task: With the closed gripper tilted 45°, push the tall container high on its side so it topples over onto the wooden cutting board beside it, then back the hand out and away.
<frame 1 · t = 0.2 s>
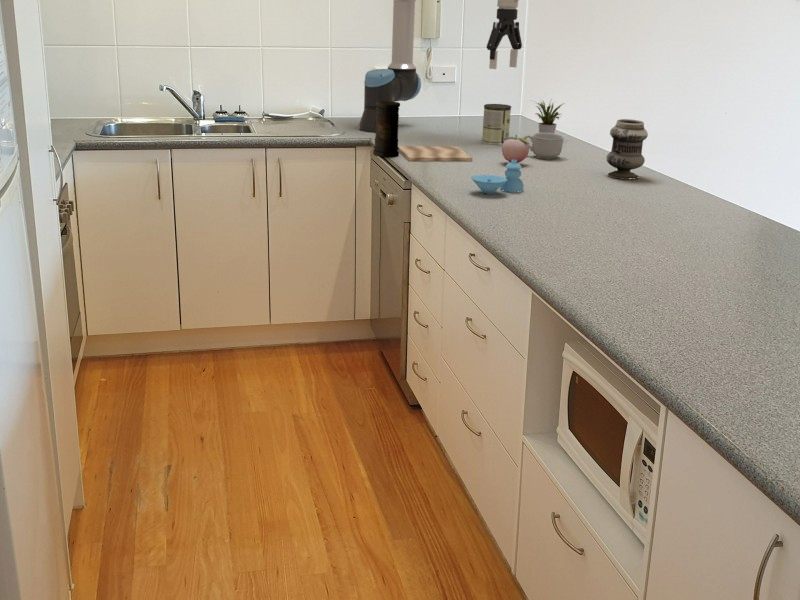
hand: (502, 68, 338), 28 cm above the worktop, tool pointing down, fingers open, 13 cm apart
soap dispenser: (497, 193, 266), on the worktop
teacup: (541, 157, 323), on the worktop
house plant: (542, 140, 360), on the worktop
wooden cutting board: (433, 155, 318), on the worktop
apothecary jar: (623, 177, 295), on the worktop
decorative fruit: (513, 165, 308), on the worktop
coffee can: (494, 143, 348), on the worktop
container: (385, 155, 315), on the worktop
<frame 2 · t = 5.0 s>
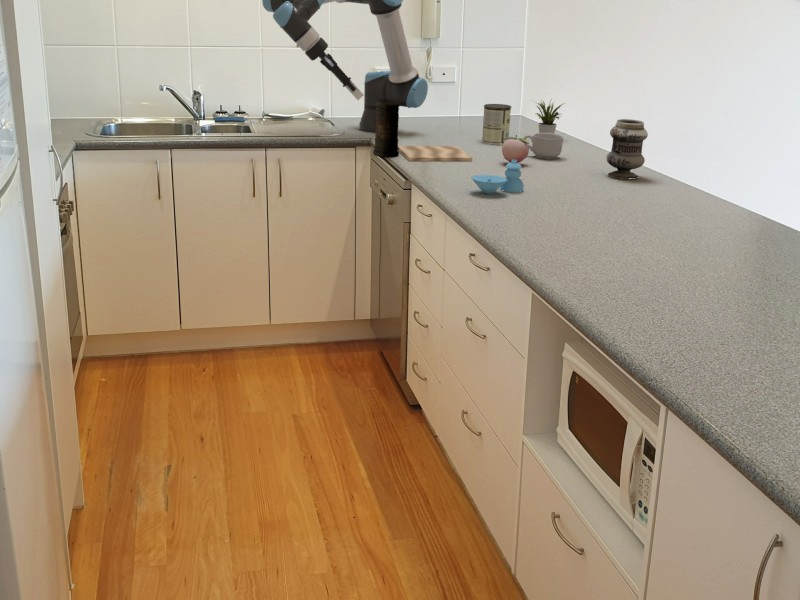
hand: (360, 97, 307), 20 cm above the worktop, tool tilted 45°, fingers closed
nothing on the worktop moved.
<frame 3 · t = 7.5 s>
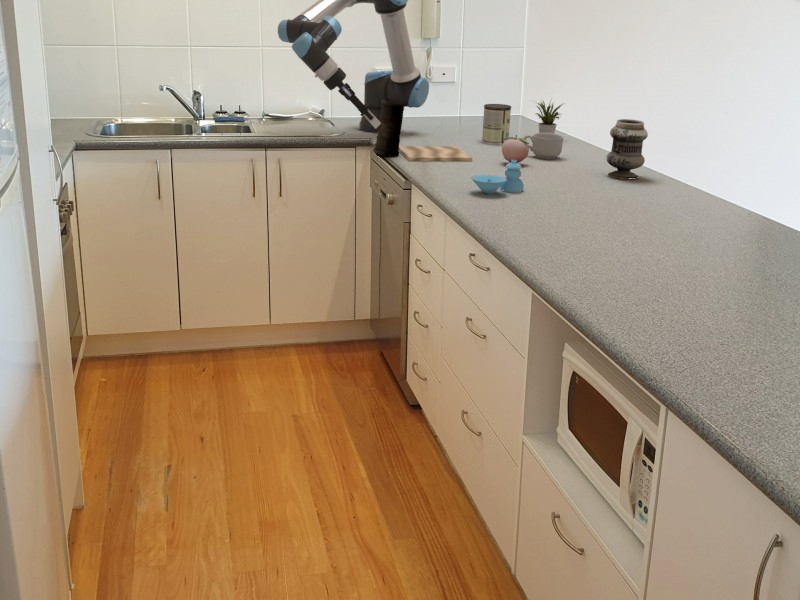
hand: (378, 125, 310), 10 cm above the worktop, tool tilted 45°, fingers closed
container: (386, 154, 315), on the worktop, touching gripper
everything else where it was.
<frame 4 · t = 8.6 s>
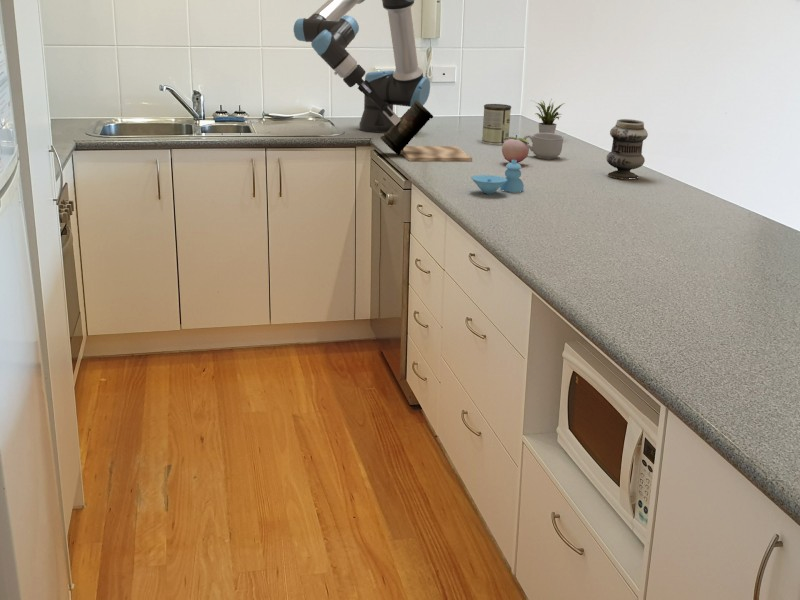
hand: (397, 122, 310), 11 cm above the worktop, tool tilted 45°, fingers closed
container: (388, 147, 314), point 3 cm above the worktop, touching gripper
everything else where it was.
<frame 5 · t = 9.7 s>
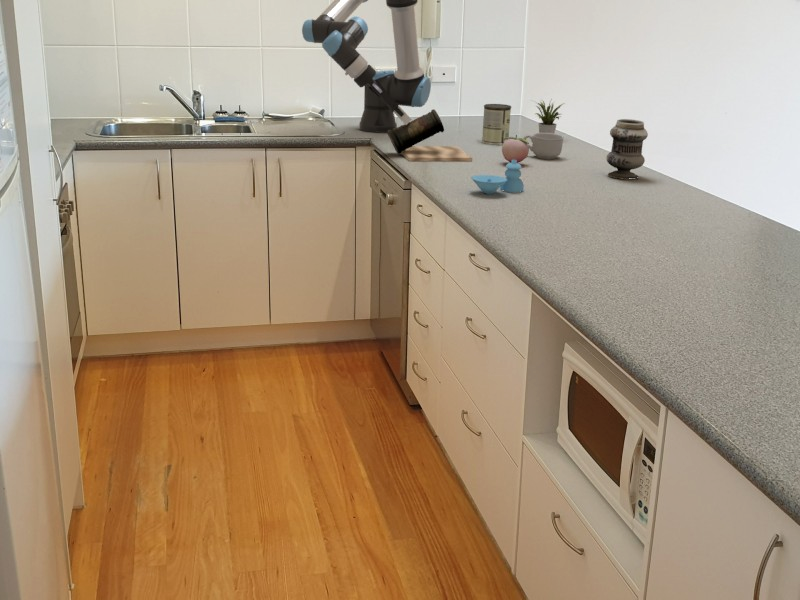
hand: (408, 122, 311), 12 cm above the worktop, tool tilted 45°, fingers closed
container: (392, 143, 314), point 4 cm above the worktop, touching wooden cutting board, gripper
everything else where it was.
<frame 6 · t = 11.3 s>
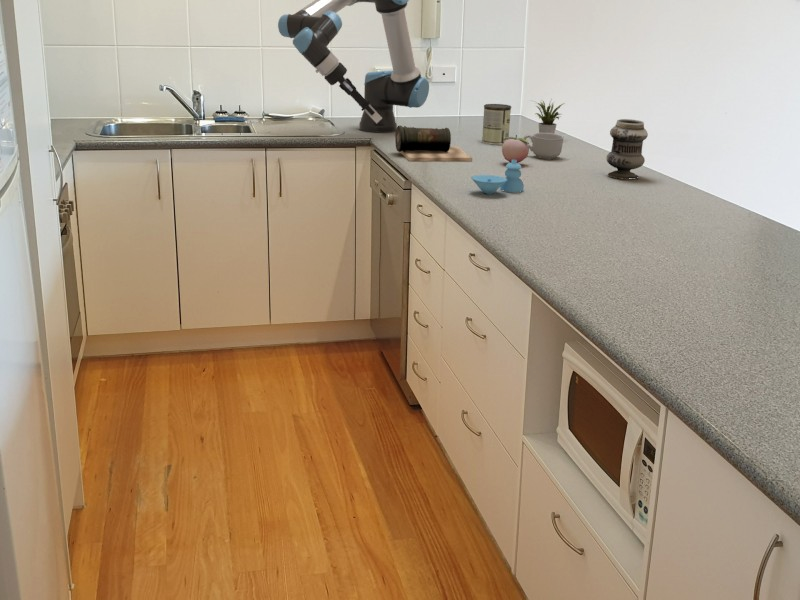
hand: (379, 120, 310), 12 cm above the worktop, tool tilted 45°, fingers closed
container: (397, 138, 314), point 6 cm above the worktop, touching wooden cutting board
everything else where it was.
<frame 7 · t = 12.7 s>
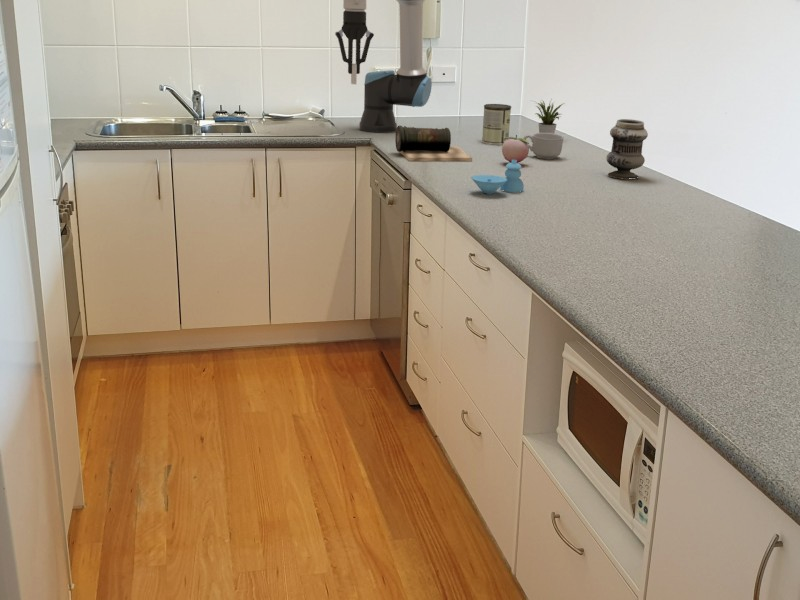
hand: (353, 83, 306), 24 cm above the worktop, tool pointing down, fingers closed
nothing on the worktop moved.
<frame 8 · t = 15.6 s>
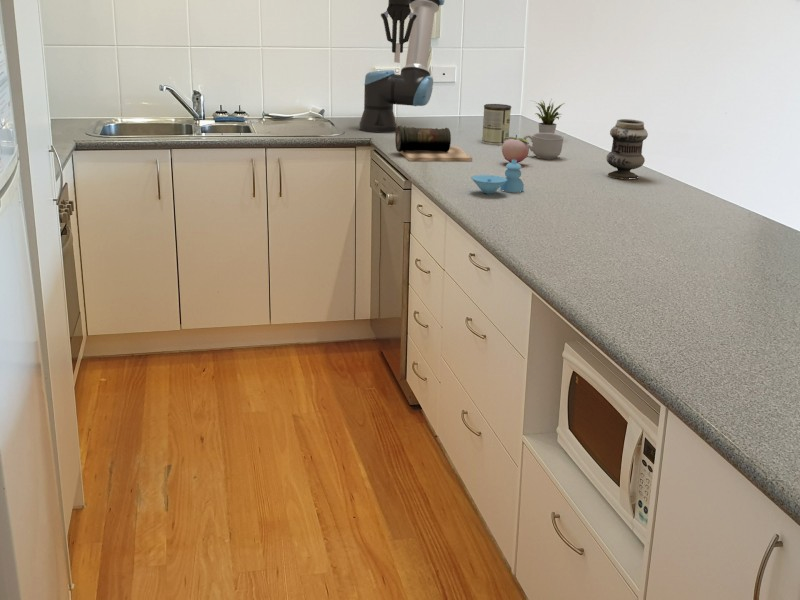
hand: (396, 62, 328), 29 cm above the worktop, tool pointing down, fingers closed
nothing on the worktop moved.
at the end: container tilted 91°; container touching wooden cutting board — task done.
